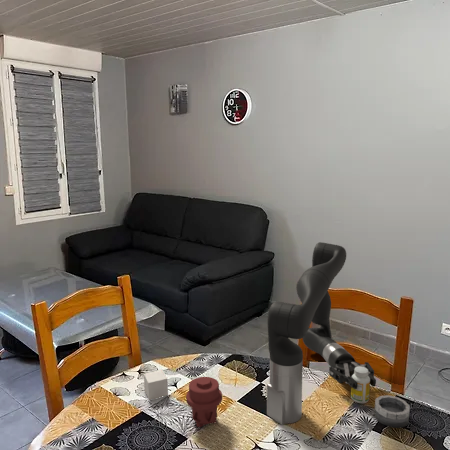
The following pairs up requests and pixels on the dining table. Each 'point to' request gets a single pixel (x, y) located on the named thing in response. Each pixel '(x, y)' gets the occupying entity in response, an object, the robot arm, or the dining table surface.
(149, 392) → the grey cube
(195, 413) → the mechanical component
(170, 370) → the dining table surface
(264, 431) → the dining table surface
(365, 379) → the supplement bottle
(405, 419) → the collar
